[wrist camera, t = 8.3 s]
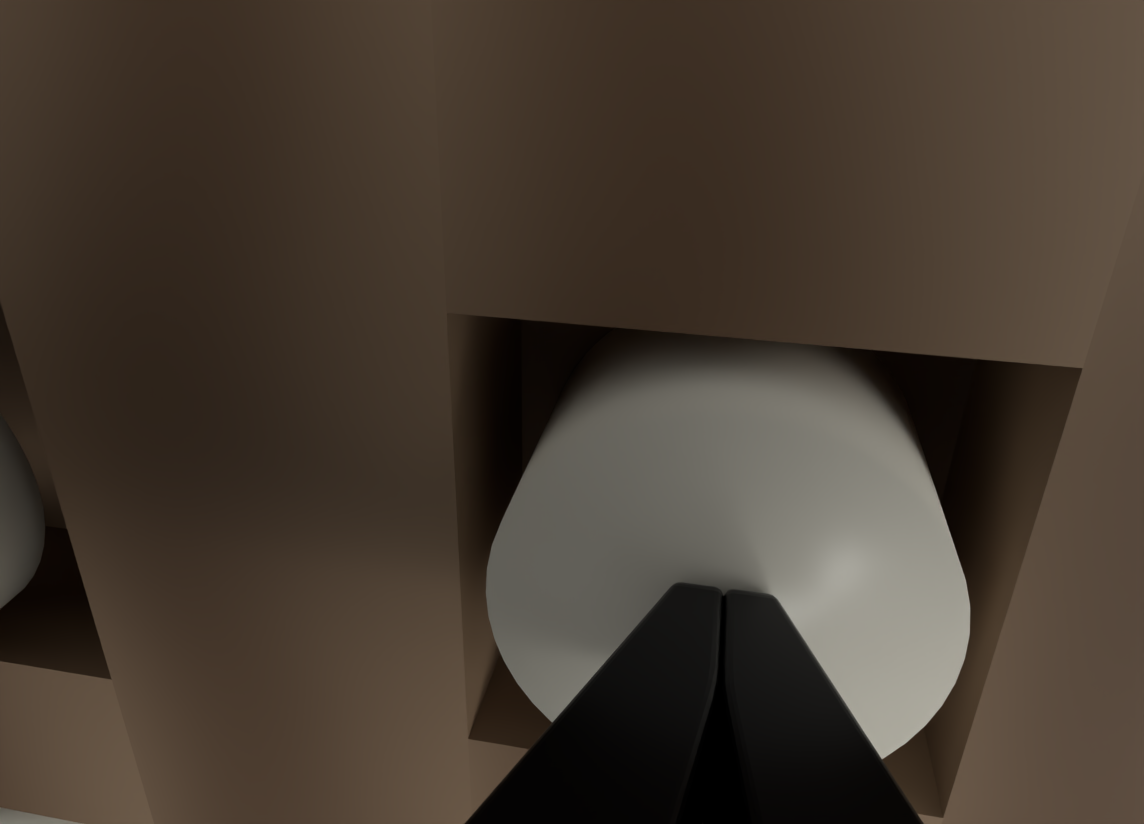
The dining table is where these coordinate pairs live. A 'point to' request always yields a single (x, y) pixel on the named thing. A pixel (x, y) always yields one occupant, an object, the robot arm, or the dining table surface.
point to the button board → (535, 362)
